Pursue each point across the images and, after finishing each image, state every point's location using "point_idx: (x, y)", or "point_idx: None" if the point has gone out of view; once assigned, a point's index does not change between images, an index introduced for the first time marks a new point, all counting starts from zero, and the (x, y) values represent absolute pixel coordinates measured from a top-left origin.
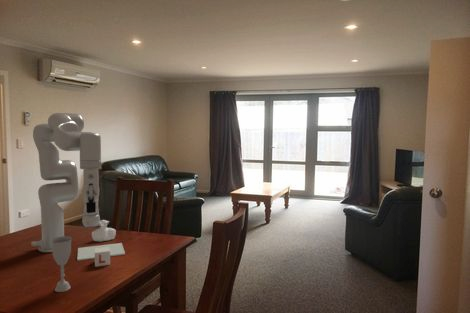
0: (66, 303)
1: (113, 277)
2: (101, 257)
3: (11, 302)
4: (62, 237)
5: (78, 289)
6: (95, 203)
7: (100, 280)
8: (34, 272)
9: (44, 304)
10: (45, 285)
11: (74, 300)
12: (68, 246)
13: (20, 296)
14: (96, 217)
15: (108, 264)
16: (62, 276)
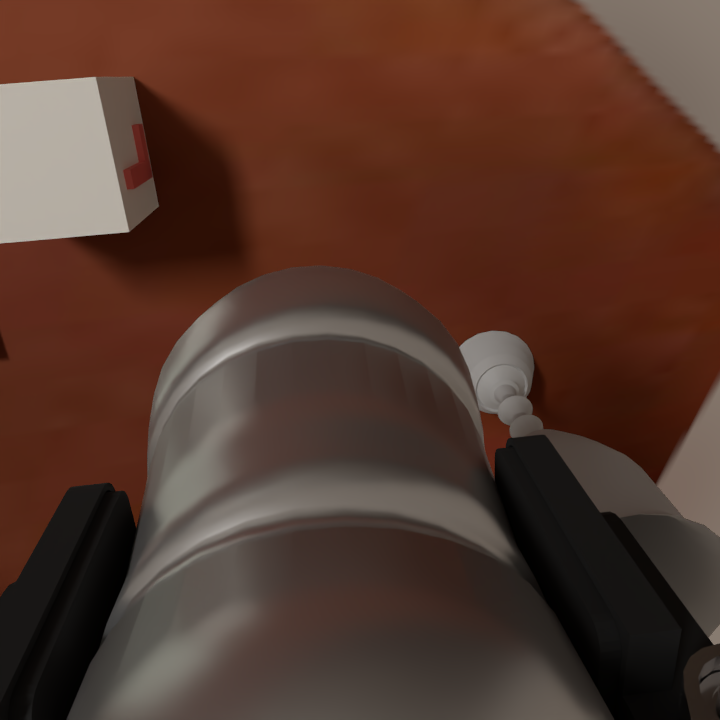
0: (699, 321)
1: (431, 44)
2: (130, 162)
3: None
4: None
5: (542, 281)
6: (654, 591)
7: (452, 147)
8: None
9: (653, 424)
10: None
11: (685, 285)
12: (658, 495)
13: None
14: (447, 355)
15: (134, 93)
16: (531, 407)
